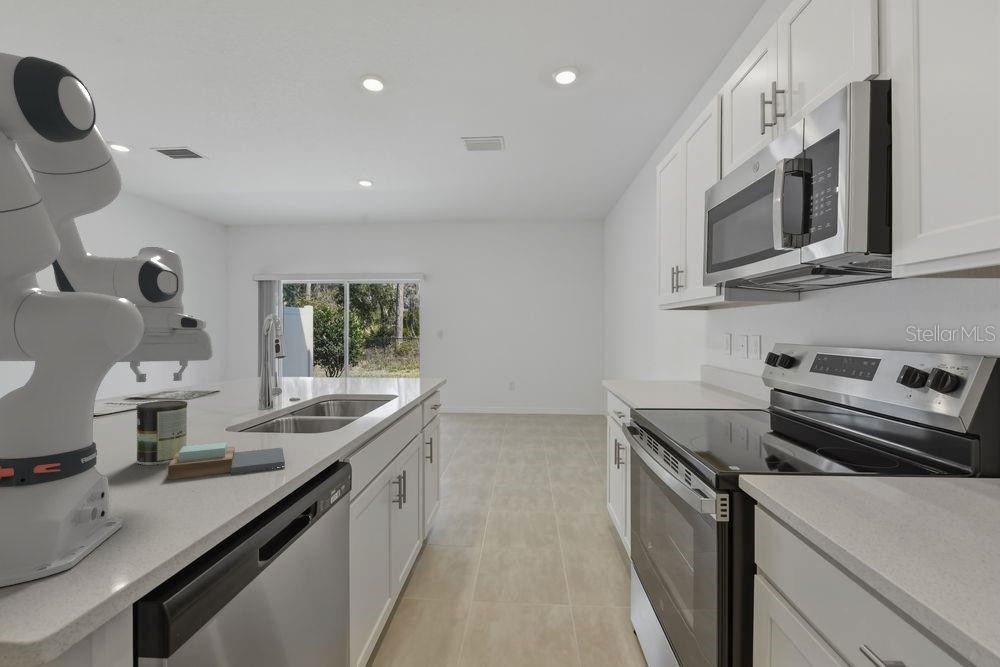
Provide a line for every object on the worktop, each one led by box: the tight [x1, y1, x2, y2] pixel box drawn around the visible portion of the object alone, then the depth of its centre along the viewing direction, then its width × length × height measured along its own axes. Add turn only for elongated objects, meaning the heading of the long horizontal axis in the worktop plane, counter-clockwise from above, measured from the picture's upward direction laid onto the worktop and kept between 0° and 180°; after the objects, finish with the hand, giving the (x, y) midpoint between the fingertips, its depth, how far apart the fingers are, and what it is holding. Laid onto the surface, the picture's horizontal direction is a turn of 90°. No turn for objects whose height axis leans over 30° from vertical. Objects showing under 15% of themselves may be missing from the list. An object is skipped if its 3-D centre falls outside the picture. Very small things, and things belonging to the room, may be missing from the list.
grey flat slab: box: [230, 447, 286, 475], centre depth 111 cm, size 14×11×2 cm
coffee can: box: [135, 400, 188, 466], centre depth 113 cm, size 10×10×14 cm
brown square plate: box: [167, 446, 236, 480], centre depth 106 cm, size 12×12×3 cm
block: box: [179, 441, 228, 461], centre depth 106 cm, size 6×9×2 cm, turn 118°
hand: (159, 381), depth 102 cm, fingers open, 5 cm apart
